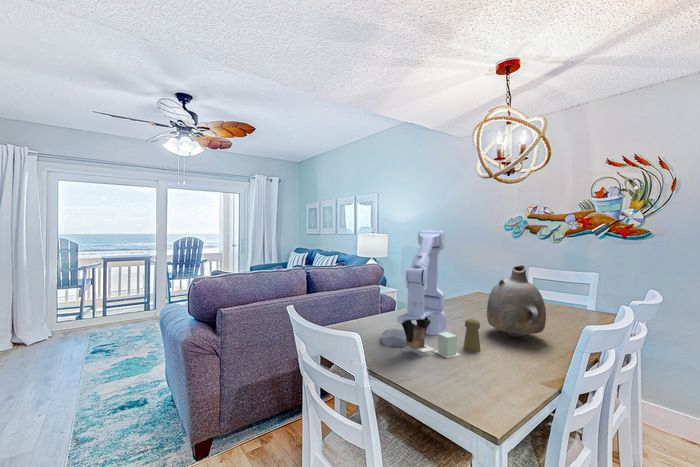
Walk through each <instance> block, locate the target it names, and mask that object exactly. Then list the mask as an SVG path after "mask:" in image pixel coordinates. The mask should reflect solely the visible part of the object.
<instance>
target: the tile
mask: <svg viewBox="0 0 700 467" xmlns="http://www.w3.org/2000/svg"><path fill="white" fill-rule="evenodd" d="M433 352H434V353H436V354H439V355H440V356H442V357H444V358H446V359H449V358H454V357H456V356H461V354H460V353H458V352H457V353H456V354H455V355H451V356H445V355H443V354H441V353H440V352H438V349H437V350H433Z"/></svg>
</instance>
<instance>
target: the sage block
mask: <svg viewBox="0 0 700 467" xmlns="http://www.w3.org/2000/svg"><path fill="white" fill-rule="evenodd" d="M457 341H458V335H455V334H453V333H451V332H448V331H447V332H444V333H439V334H437V350H438V352H440V353H441V354H443V355H445V356H451V355H455V354H456V353H458V352H457V349H458V348H457V346H458V345H457V343H458V342H457Z"/></svg>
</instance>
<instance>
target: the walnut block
mask: <svg viewBox="0 0 700 467" xmlns="http://www.w3.org/2000/svg"><path fill="white" fill-rule="evenodd" d="M425 335H426V333H425V329H424V328H422V327H420V326H418V325H417V324H415V327H414V330H413V339H412V342H411V343H410V342H408V341H407V339H406V347H409V348H410V349H418V348H423V347H424V344H425V340H426V339H425V338H426V337H425Z"/></svg>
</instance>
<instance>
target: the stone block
mask: <svg viewBox="0 0 700 467" xmlns="http://www.w3.org/2000/svg"><path fill="white" fill-rule="evenodd" d="M380 340H381V343H382V344H383V346H388V347H400V348H406V347H407V345H406V335H405V331H404V329H399V328H390V329H385V330H383V332H382V334H381V336H380Z"/></svg>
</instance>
